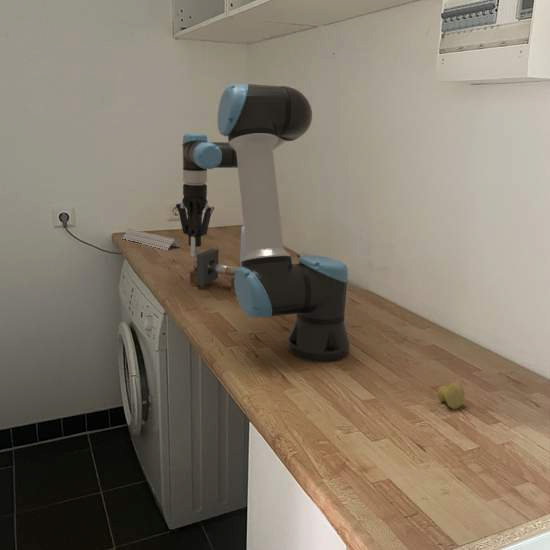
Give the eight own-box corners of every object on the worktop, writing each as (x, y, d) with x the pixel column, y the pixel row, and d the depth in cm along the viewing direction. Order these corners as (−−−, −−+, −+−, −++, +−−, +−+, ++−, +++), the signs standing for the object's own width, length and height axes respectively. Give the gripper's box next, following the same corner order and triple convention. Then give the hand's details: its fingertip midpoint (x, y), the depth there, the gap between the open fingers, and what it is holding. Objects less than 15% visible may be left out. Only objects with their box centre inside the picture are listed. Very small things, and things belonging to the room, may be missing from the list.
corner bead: (120, 241, 249) (119, 229, 248) (136, 238, 256) (136, 227, 255) (166, 252, 233) (166, 240, 231) (182, 249, 240) (182, 237, 238)
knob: (466, 406, 117) (470, 384, 116) (449, 412, 114) (452, 390, 113) (448, 396, 121) (451, 375, 120) (431, 402, 118) (434, 380, 117)
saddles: (249, 289, 188) (249, 274, 186) (239, 295, 181) (239, 279, 180) (200, 281, 194) (200, 267, 193) (189, 286, 188) (190, 271, 186)
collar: (218, 278, 193) (218, 249, 190) (203, 285, 184) (203, 255, 181) (211, 277, 194) (212, 248, 191) (196, 284, 185) (196, 254, 182)
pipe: (246, 276, 184) (247, 266, 184) (242, 278, 182) (242, 268, 181) (197, 268, 191) (197, 259, 190) (193, 270, 188) (193, 261, 187)
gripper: (218, 184, 183) (217, 256, 189) (183, 180, 188) (183, 251, 194) (207, 186, 176) (206, 260, 183) (170, 182, 181) (171, 255, 187)
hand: (194, 255), depth 188 cm, fingers closed
